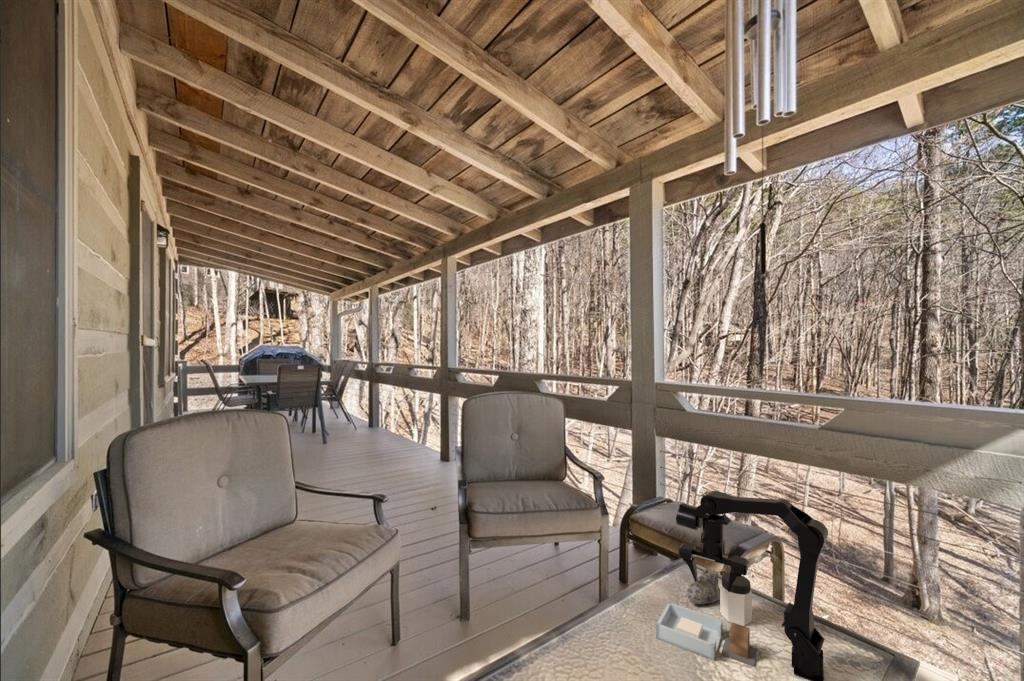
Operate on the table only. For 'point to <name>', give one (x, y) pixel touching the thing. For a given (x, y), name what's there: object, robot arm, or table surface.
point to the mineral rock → (704, 588)
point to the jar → (736, 600)
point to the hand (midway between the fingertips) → (712, 586)
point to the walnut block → (739, 640)
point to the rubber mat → (748, 661)
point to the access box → (690, 630)
